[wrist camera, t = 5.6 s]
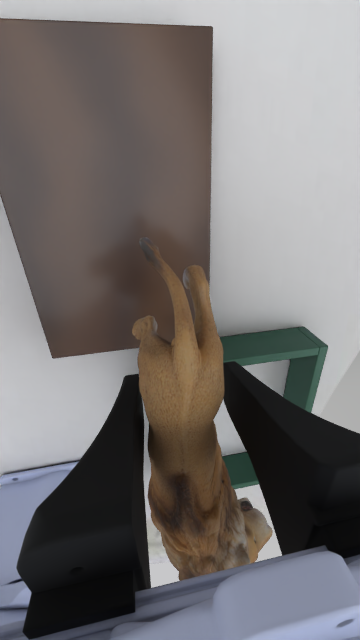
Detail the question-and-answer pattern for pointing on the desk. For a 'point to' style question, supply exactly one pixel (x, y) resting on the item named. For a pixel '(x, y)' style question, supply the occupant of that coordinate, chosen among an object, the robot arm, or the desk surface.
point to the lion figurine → (191, 436)
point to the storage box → (299, 384)
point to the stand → (105, 170)
